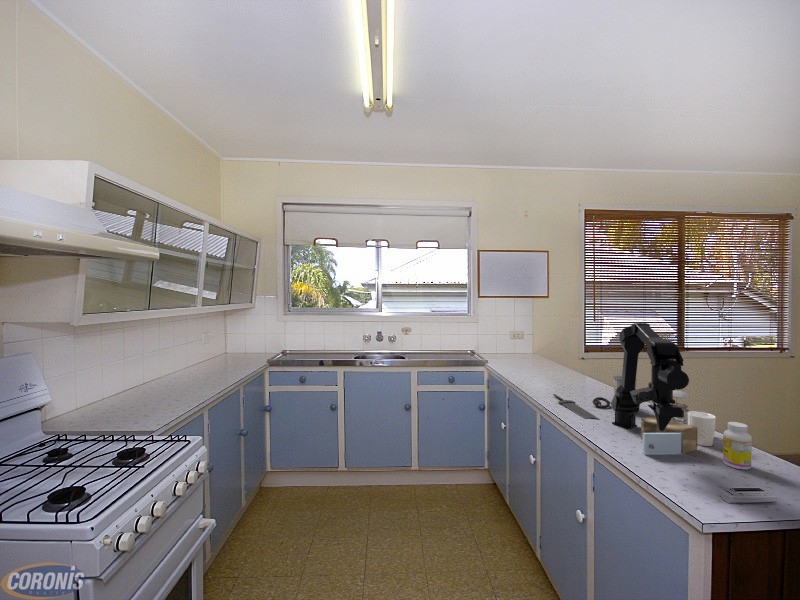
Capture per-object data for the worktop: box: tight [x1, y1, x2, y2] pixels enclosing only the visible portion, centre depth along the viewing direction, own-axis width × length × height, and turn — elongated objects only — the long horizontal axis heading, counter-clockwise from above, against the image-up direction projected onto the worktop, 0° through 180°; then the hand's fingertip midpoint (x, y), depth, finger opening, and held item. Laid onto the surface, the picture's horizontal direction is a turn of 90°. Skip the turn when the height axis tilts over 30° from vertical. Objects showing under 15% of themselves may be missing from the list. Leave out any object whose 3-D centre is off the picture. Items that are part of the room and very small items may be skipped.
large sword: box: [552, 393, 601, 420], centre depth 179 cm, size 7×35×2 cm, turn 4°
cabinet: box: [640, 414, 698, 455], centre depth 135 cm, size 14×8×8 cm, turn 25°
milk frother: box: [592, 375, 638, 414], centre depth 175 cm, size 14×16×15 cm
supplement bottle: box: [722, 421, 753, 470], centre depth 119 cm, size 7×7×13 cm
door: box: [641, 432, 684, 455], centre depth 126 cm, size 13×2×7 cm, turn 90°
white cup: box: [687, 410, 716, 447], centre depth 137 cm, size 8×8×10 cm
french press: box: [670, 389, 691, 425], centre depth 149 cm, size 10×12×25 cm
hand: (661, 430), depth 122 cm, fingers closed
